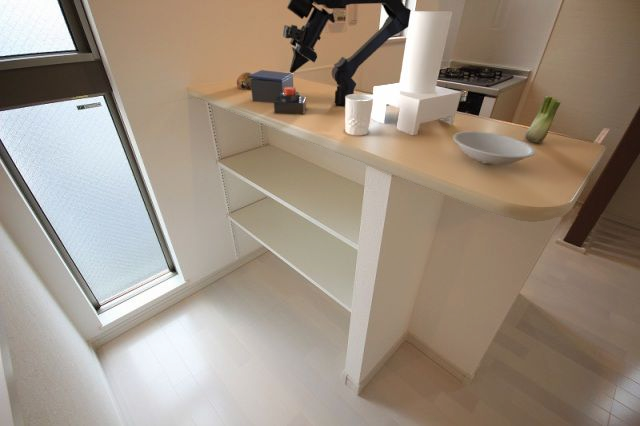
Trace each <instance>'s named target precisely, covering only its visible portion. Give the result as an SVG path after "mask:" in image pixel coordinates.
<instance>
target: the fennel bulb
mask: <svg viewBox="0 0 640 426" xmlns="http://www.w3.org/2000/svg"><path fill="white" fill-rule="evenodd" d="M560 105H561V101H559V100H558V99H556V98H553V96H548V95H547V96H545V97H544V99H543V101H542V104H541V106H540V109H539V111H538V113H537V114H536V116H535V117H534V120H533V121H532V123H531V125H530V126H529V128H528V129H527V130H526V131H525V136H524V137H525V140H527V141H528V142H530V143H536V144H540V143H543V141H544V140H545V139H546V138H547V136H548V133H549V130H550V128H551V125H552V123H553V120H554V117H555V116H556V113H557V112H558V111H557V110H558V108H559V107H560Z"/></svg>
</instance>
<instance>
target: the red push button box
mask: <svg viewBox="0 0 640 426" xmlns="http://www.w3.org/2000/svg"><path fill="white" fill-rule="evenodd" d="M273 108H274V109H273V111H274V114H279V115H281V114H282V115H304V114H305V111H306V109H307V96H301V92H299V91H296V94H295V95H285V94H284V92H281V93H280V96H278V97H277V99H276V100H275V101H274V103H273Z"/></svg>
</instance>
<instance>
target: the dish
mask: <svg viewBox="0 0 640 426" xmlns="http://www.w3.org/2000/svg"><path fill="white" fill-rule="evenodd" d="M452 139H453V141H454V142H455V144H457V146H458V147H459V148H460V150H461V151H462V152H463V153H464V154H465V155H467V156H468V157H470V158H471V159H473V160H476V161H479V162H481V163H483V164H484V165H485V164H486V165H488V164H491V165H508V164H513V163H516V162H519V161H522V160H525V159H526V158H530V157H533V156H534V155H535V154H536V149H535V148H534V147H533V146H531V145H530V144H528V143H526V142H524V141H522V140H520V139H517V138H513V137H510V136H506V135H503V134H498V133H492V132H486V131H474V130H472V131H471V130H468V131H466V130H465V131H459V132H456V133H454V134H453V135H452Z"/></svg>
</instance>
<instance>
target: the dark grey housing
mask: <svg viewBox="0 0 640 426" xmlns="http://www.w3.org/2000/svg"><path fill="white" fill-rule="evenodd" d="M250 82H251V89H250V90H251V99H252V102H260V103H269V104H274V101H275V100H276V99H277V97H278V96H280V93H281V92H284V88H285V87H294V75H293V76H291V77H289V78H288V79H286V80H284V81H282V82H279V81H270V80H261V79H251V80H250Z"/></svg>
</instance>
